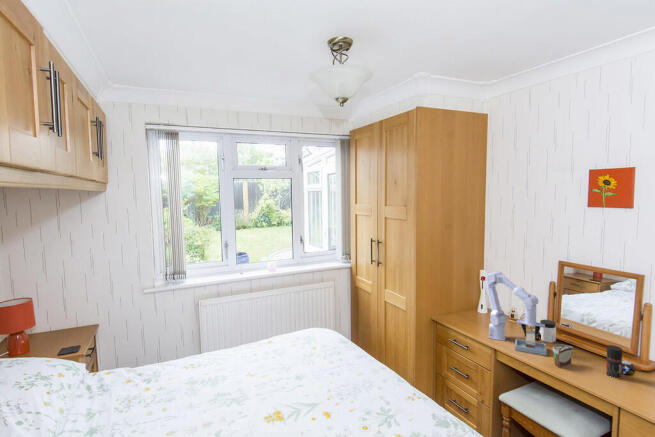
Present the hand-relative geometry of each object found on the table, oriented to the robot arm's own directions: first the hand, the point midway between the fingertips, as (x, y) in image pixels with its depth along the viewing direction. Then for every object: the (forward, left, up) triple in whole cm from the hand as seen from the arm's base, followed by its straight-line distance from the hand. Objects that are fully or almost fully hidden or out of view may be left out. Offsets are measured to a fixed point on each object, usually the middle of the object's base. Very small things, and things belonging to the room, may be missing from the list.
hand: (530, 337), depth 203 cm
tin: (0, 0, -7) cm, 7 cm away
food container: (+14, -12, -8) cm, 20 cm away
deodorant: (+37, -14, -8) cm, 40 cm away
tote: (0, 0, -8) cm, 8 cm away
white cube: (0, 0, -1) cm, 1 cm away
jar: (+10, +20, -8) cm, 24 cm away
